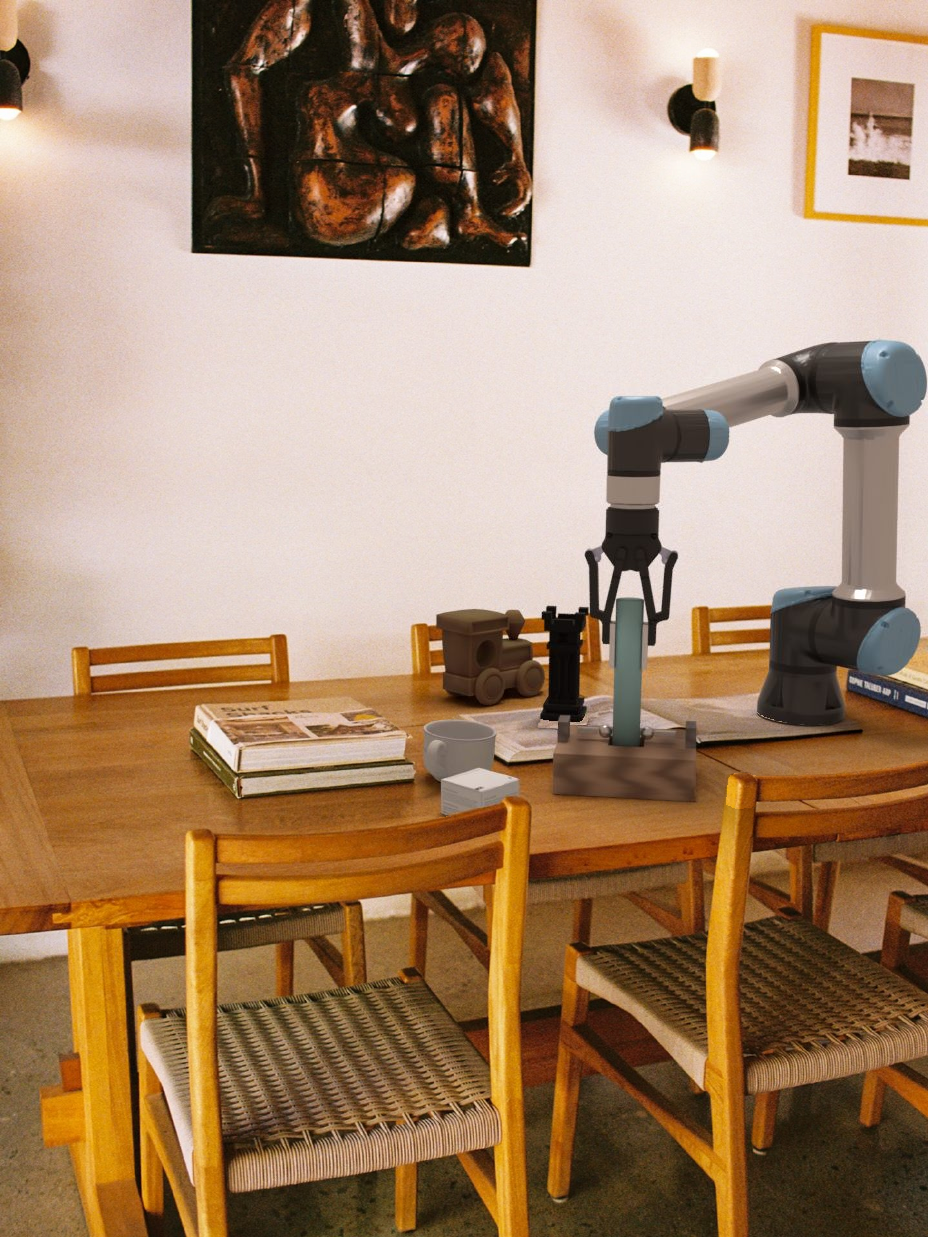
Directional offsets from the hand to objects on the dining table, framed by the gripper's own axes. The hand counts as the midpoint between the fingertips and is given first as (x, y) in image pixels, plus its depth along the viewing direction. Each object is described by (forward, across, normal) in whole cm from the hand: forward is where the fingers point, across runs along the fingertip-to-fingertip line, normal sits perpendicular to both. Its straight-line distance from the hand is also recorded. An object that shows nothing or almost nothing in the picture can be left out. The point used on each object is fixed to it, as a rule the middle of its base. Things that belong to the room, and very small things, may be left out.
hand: (628, 666), depth 182 cm
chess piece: (+17, +12, -31) cm, 38 cm away
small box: (+18, +19, +18) cm, 31 cm away
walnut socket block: (+17, 0, 0) cm, 17 cm away
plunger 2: (+11, -5, 0) cm, 12 cm away
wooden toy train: (+18, +27, -48) cm, 58 cm away
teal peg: (+12, 0, 0) cm, 12 cm away
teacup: (+18, +25, +5) cm, 31 cm away
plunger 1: (+11, +5, 0) cm, 12 cm away
